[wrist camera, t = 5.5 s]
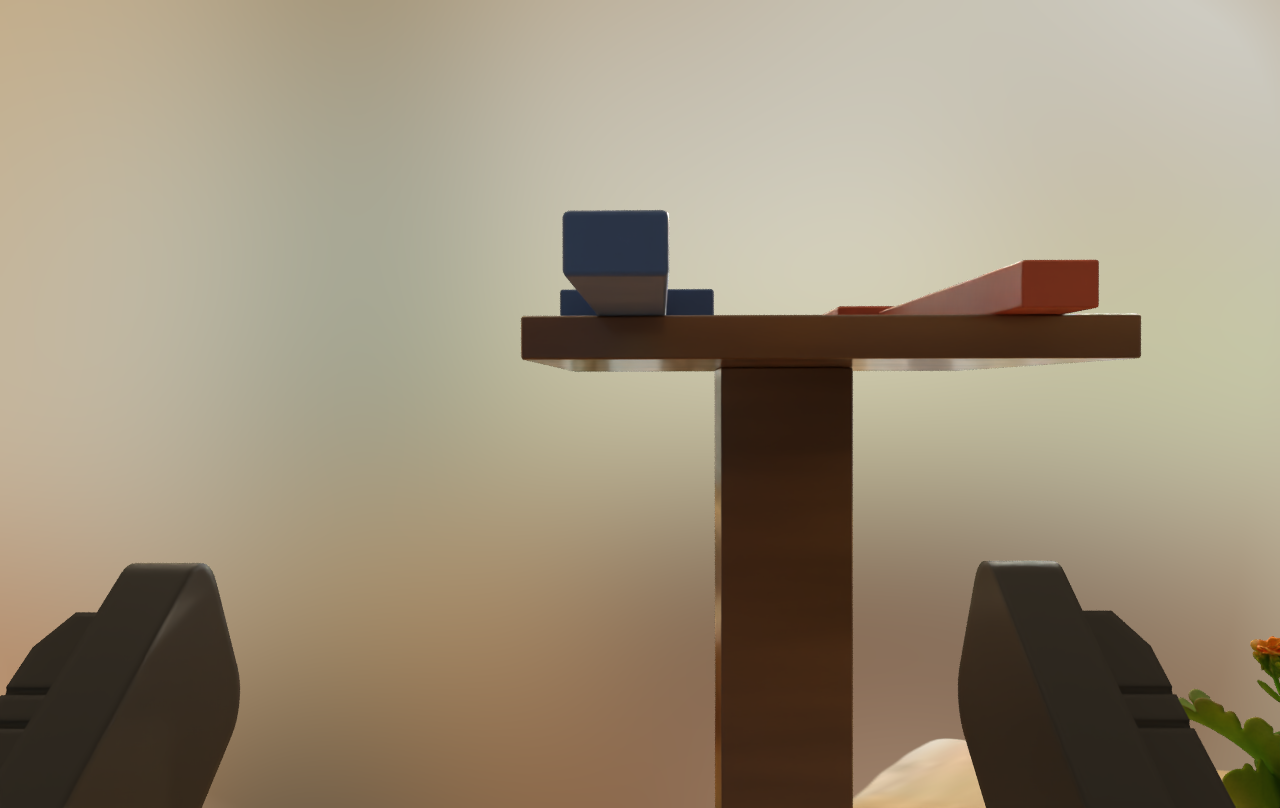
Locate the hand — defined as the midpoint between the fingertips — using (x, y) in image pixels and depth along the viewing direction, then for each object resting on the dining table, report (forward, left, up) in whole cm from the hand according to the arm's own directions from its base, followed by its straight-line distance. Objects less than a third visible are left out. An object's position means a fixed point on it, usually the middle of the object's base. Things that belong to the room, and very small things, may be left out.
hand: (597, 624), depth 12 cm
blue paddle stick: (+1, -17, +4) cm, 18 cm away
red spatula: (-7, -25, +4) cm, 26 cm away
